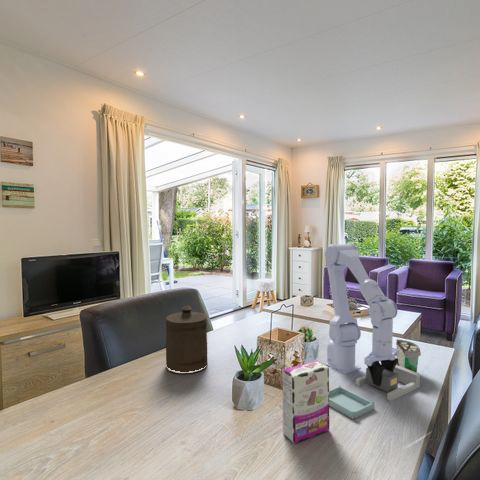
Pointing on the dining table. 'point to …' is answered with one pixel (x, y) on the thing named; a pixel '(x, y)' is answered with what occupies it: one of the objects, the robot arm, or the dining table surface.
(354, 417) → the tray
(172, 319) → the wooden container
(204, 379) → the dining table surface
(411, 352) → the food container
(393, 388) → the grey rectangular block
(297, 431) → the candy bar box
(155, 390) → the dining table surface
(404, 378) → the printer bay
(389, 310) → the robot arm
